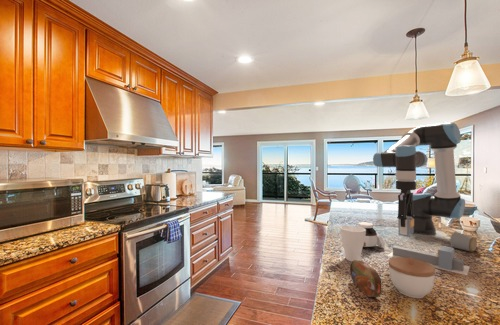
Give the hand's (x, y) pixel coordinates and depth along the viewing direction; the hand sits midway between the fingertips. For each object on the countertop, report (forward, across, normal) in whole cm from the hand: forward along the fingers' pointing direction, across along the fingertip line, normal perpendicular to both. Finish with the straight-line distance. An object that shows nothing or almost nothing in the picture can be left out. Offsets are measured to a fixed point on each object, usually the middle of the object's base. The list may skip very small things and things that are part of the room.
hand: (406, 232), depth 108 cm
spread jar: (+12, -4, -17) cm, 21 cm away
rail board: (+11, -1, +7) cm, 13 cm away
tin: (+12, +41, -2) cm, 42 cm away
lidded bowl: (+12, +32, +9) cm, 35 cm away
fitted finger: (+11, 0, +14) cm, 18 cm away
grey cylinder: (+11, -34, +16) cm, 39 cm away
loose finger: (+1, 0, 0) cm, 1 cm away
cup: (+12, +18, -16) cm, 27 cm away
